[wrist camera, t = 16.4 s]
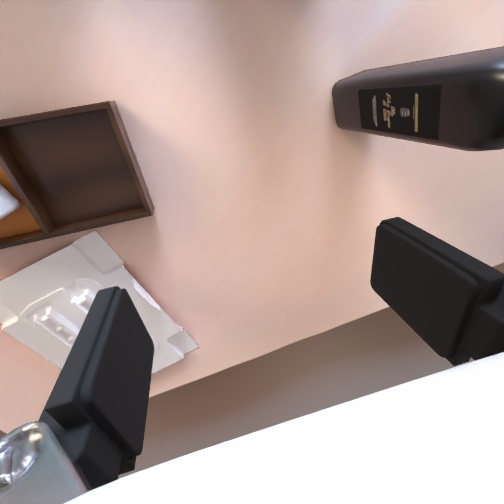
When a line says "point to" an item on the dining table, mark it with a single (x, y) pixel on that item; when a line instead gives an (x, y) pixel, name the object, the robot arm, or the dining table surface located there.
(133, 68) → the dining table surface
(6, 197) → the medicine bottle
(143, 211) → the dark wooden divided tray
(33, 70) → the dining table surface
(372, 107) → the wine bottle
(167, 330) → the tray
